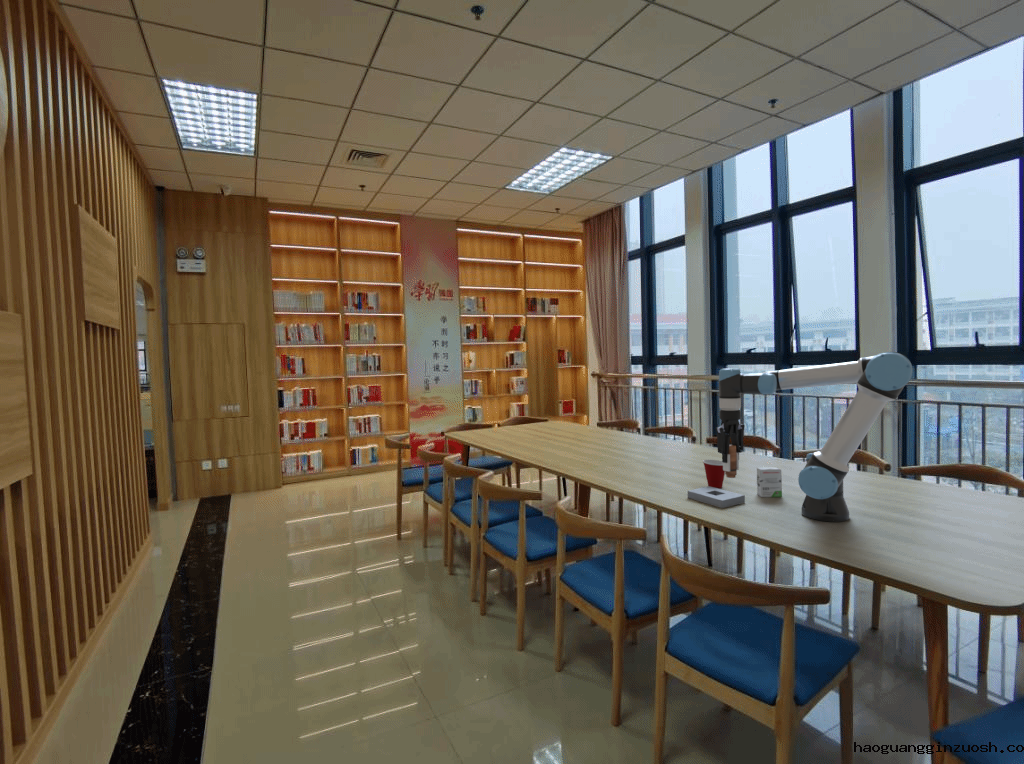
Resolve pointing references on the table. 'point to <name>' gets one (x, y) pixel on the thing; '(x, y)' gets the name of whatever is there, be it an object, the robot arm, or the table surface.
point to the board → (716, 496)
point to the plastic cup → (714, 473)
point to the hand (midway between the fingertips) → (730, 469)
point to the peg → (732, 462)
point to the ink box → (769, 482)
